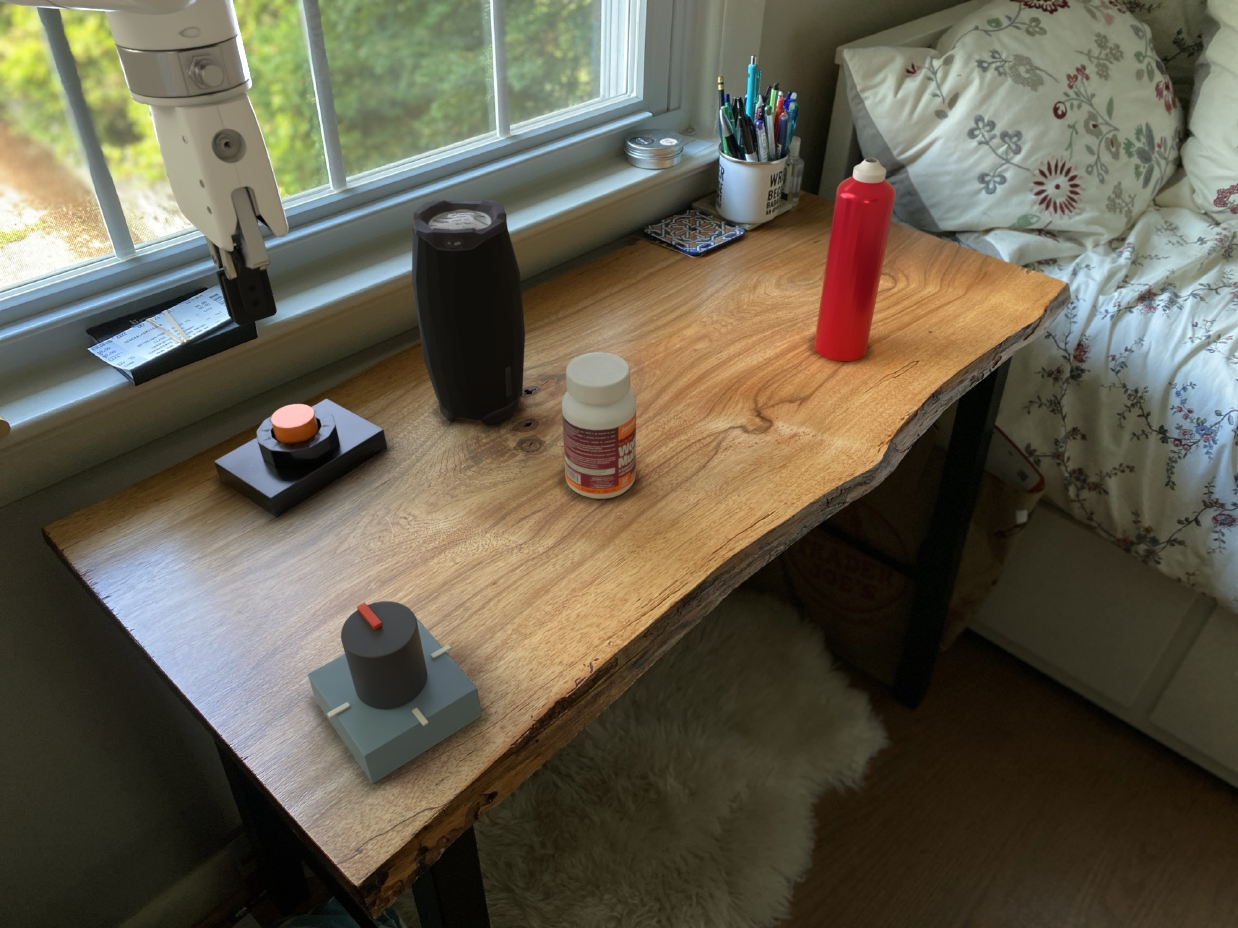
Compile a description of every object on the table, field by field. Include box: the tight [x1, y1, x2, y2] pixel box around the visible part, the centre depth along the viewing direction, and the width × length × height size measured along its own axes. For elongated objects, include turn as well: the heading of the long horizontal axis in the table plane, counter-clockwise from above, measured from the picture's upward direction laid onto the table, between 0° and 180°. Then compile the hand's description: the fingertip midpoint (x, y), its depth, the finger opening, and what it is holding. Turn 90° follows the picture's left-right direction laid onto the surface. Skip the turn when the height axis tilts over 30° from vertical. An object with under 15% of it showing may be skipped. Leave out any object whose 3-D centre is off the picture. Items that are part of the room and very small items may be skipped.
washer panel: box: [307, 615, 482, 784], centre depth 61 cm, size 9×9×3 cm
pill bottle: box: [561, 351, 637, 500], centre depth 78 cm, size 6×6×11 cm
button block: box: [213, 398, 388, 519], centre depth 82 cm, size 12×8×4 cm, turn 142°
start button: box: [270, 403, 318, 443], centre depth 80 cm, size 4×4×2 cm
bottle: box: [813, 157, 897, 362], centre depth 92 cm, size 6×6×20 cm
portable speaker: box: [411, 198, 526, 427], centre depth 84 cm, size 9×9×20 cm
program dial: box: [340, 600, 427, 709], centre depth 59 cm, size 5×5×5 cm
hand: (253, 316), depth 72 cm, fingers closed
